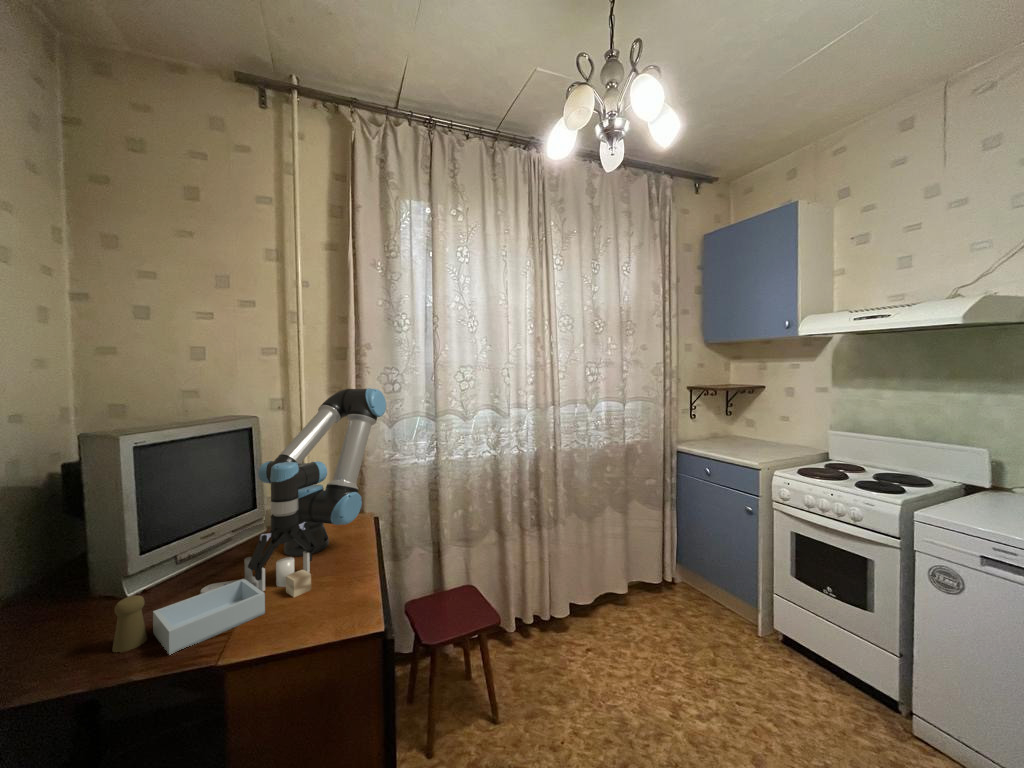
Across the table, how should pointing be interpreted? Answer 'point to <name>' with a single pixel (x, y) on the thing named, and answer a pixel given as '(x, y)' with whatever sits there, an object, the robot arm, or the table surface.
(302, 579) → the beech cube
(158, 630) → the tote
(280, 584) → the white egg
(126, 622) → the cork
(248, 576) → the electronic device
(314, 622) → the table surface
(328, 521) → the robot arm
